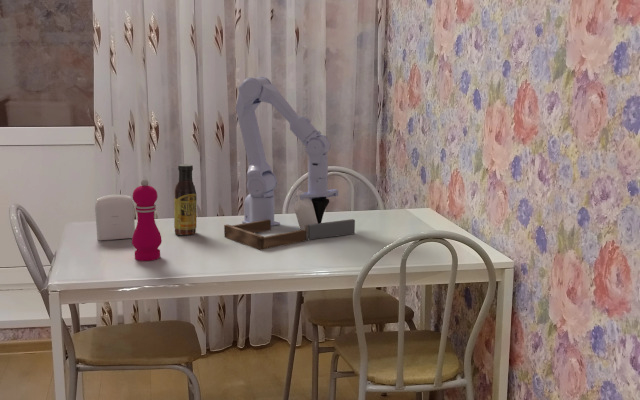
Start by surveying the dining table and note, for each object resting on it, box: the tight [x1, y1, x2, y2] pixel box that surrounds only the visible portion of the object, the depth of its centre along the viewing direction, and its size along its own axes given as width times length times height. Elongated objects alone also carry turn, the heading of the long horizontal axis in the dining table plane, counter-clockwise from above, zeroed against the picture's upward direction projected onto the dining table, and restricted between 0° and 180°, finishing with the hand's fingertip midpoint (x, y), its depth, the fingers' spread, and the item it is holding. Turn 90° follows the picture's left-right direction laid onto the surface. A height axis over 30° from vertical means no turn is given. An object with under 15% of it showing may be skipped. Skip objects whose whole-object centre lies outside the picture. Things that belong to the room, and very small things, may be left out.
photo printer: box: [94, 194, 136, 242], centre depth 195 cm, size 10×4×12 cm, turn 108°
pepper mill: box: [131, 178, 163, 262], centre depth 175 cm, size 7×7×20 cm
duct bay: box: [223, 219, 309, 251], centre depth 197 cm, size 17×17×4 cm
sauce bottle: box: [173, 163, 198, 236], centre depth 200 cm, size 6×6×20 cm
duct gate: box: [308, 218, 356, 240], centre depth 199 cm, size 15×1×4 cm, turn 120°
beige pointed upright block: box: [294, 190, 318, 230], centre depth 204 cm, size 6×12×6 cm
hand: (317, 222), depth 208 cm, fingers closed
